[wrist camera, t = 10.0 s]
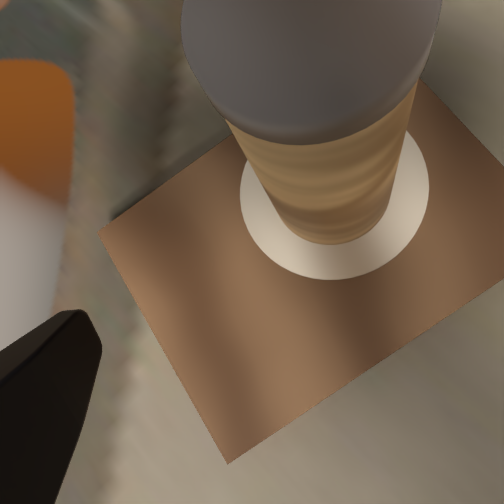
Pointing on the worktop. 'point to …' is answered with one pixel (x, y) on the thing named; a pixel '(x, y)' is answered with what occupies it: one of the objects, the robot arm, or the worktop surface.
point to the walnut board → (305, 275)
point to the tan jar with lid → (315, 98)
